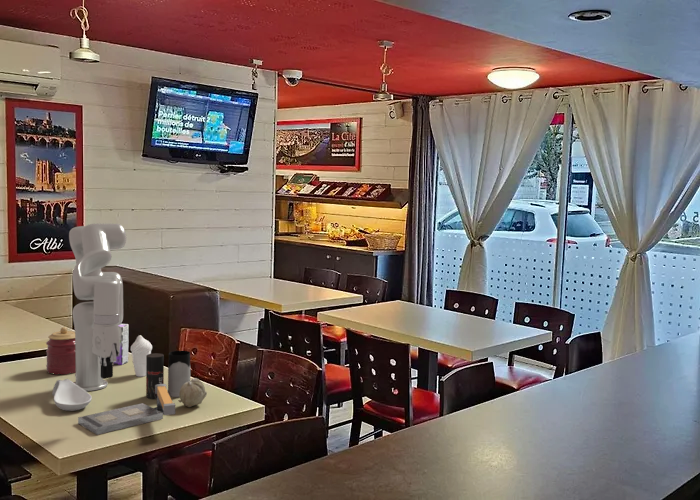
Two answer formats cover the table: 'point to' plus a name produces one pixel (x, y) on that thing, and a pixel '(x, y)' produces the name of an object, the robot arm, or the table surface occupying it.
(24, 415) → the table surface
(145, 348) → the soft serve ice cream cone
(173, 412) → the orange and grey bar
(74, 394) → the spoon rest
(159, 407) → the post
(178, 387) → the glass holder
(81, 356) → the robot arm
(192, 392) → the garlic bulb
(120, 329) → the candy box
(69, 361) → the canister
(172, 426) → the table surface
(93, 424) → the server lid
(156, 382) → the deodorant
